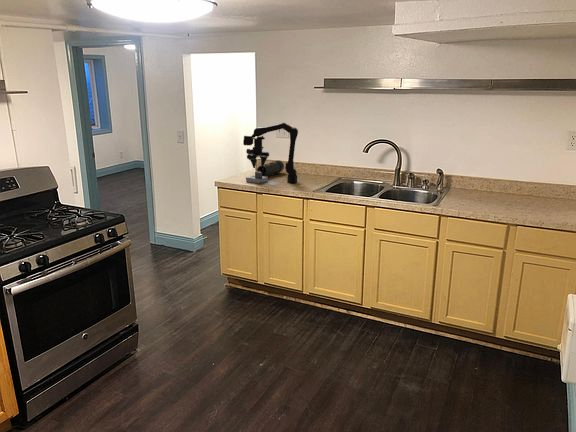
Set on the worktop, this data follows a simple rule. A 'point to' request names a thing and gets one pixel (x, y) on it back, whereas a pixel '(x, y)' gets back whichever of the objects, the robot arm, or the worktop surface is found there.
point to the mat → (271, 183)
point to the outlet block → (256, 179)
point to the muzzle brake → (271, 168)
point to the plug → (258, 174)
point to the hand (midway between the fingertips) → (258, 167)
